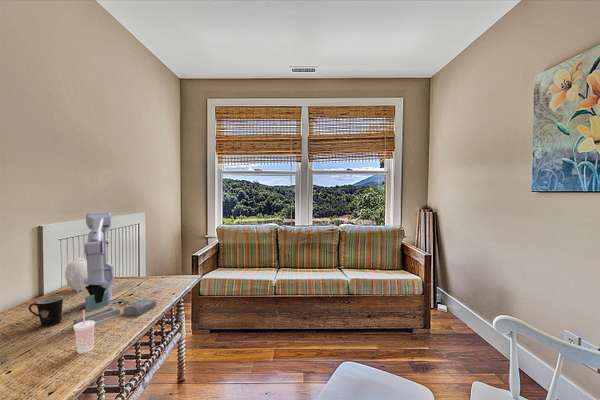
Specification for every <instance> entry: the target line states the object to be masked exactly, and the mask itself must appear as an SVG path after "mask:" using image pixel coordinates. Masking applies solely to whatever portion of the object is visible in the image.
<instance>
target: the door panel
mask: <svg viewBox="0 0 600 400" xmlns="http://www.w3.org/2000/svg"><path fill="white" fill-rule="evenodd" d="M84 303H85V304H84V305H85V312H86V313H91V312H95V311H97V310H100V309H102V308H105V307H110V306H109V301H108V292H106V291H105V292H104V295H103V300H102V302H100V303H96V302H95V297H94V295H91V296H90V295H88V296H85V297H84Z"/></svg>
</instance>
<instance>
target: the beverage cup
mask: <svg viewBox="0 0 600 400" xmlns="http://www.w3.org/2000/svg"><path fill="white" fill-rule="evenodd" d="M85 312H86V309H83V310H82V317H83V322H80V323H77V324H76V325H74V324H73V330H74V334H75V342H76V350H77V353H78V354H85V353H88V352H90V351H92V350H94V347H95V346H94V345H95V326H96V325H95V321H92V320H89V321H85V316H86V314H85Z"/></svg>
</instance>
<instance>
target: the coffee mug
mask: <svg viewBox="0 0 600 400" xmlns="http://www.w3.org/2000/svg"><path fill="white" fill-rule="evenodd" d="M63 301H64V296H62V295H53V296H48V297H44V298H41V299H39V300H37V301H36V302H34V303H31V304H30V305H29V307H28V310H29V312H30V313H31V314H33V315H35V316H37V317H38V318H39V323H40V326H41V327H42V328H47V327H54V326H56V325H58V324H60V323H62V313H63V312H62V311H63V303H64V302H63ZM32 306H36V309H37V312H38V313H36V312H34V311H33V310H32Z"/></svg>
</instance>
